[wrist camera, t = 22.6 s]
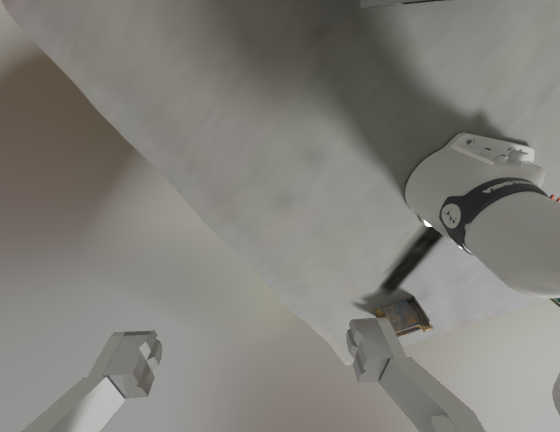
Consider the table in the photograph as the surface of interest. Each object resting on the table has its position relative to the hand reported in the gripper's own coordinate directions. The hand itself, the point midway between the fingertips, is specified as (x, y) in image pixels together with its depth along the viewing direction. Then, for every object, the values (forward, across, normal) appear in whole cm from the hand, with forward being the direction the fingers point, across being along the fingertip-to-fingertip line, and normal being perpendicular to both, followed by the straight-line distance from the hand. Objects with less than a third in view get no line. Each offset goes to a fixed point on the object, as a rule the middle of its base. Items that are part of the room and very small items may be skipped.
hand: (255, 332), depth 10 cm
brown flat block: (+35, -34, +47) cm, 68 cm away
